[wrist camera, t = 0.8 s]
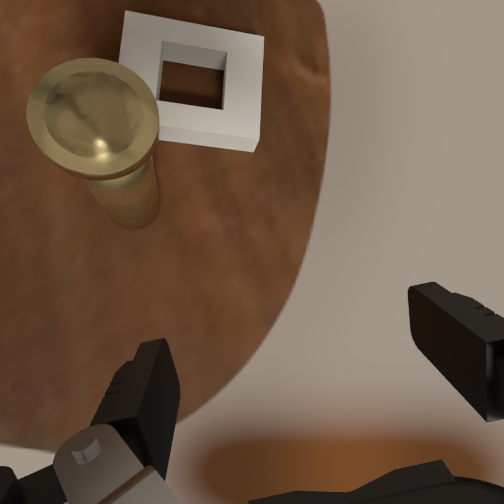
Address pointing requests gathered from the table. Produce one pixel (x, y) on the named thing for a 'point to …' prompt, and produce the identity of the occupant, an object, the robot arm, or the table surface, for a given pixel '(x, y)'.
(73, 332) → the table surface
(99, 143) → the gold flanged cylinder
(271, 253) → the table surface
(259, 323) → the table surface
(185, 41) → the frame
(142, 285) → the table surface
